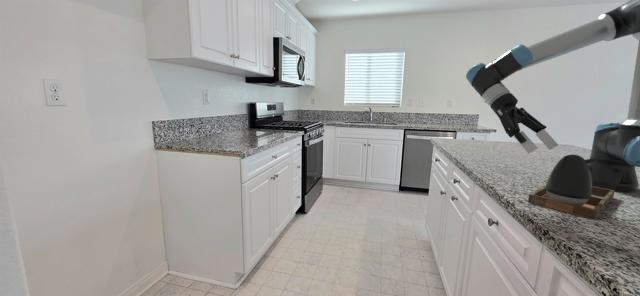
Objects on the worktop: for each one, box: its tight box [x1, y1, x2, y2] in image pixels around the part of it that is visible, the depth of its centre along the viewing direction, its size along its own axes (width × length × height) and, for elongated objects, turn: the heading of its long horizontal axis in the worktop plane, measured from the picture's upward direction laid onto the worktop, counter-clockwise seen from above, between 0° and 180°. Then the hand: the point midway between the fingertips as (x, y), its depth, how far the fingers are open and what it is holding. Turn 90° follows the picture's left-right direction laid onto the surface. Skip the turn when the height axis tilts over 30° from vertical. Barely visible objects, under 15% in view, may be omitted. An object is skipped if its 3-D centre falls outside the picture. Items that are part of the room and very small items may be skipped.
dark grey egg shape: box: [544, 153, 596, 206], centre depth 79 cm, size 10×10×15 cm
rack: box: [527, 184, 616, 221], centre depth 84 cm, size 29×15×2 cm, turn 126°
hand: (544, 149), depth 84 cm, fingers open, 13 cm apart
